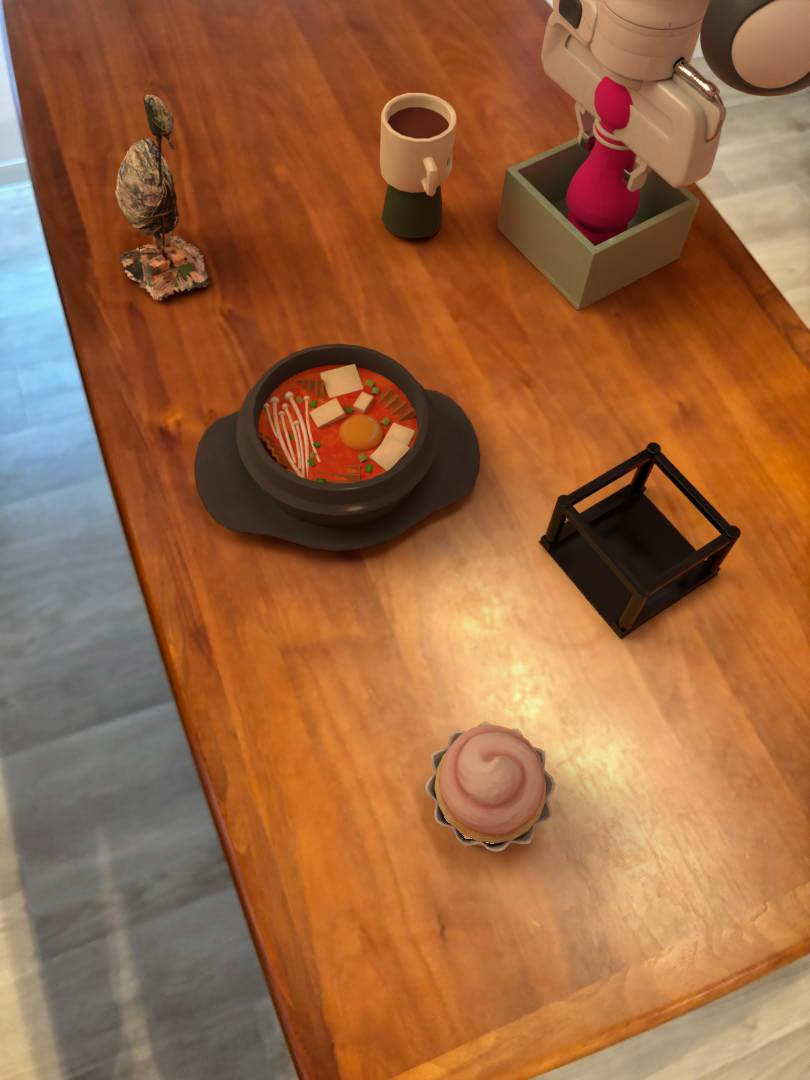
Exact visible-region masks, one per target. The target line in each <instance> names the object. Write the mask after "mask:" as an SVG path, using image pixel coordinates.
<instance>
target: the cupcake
mask: <svg viewBox="0 0 810 1080" xmlns="http://www.w3.org/2000/svg"><path fill="white" fill-rule="evenodd" d="M546 757H547V755H546V751H545V750H543V749H541V748H539V747H536V746H533V745H532V743H531V741H529V740H528V739H527V738H526V737H525V736H524V735H523V733H522V731H521V730H520V728H508V727H505V726H501V725H494V724H491V722H488V721H486V720H485V721H482V722H481V723H479V725H477V726H476V727H472V728H470V729H468V730H461V729H454V730H452V732H451V733H450V735H449V740H448V742H447V746H446V747H443V748H441V749H438V750H435V751H434V752H432V753H431V754H430V763H431V767H432V771H433V773H432V775H431V776H430V777H429V778H428V780H427V781H426V783H425V785H424V790H425V791H426V794H427V795H428V796H429V797H430V798H431V799H432V800H433V802H434V803H435V806H434V813H433V816H434V821H435V822H436V823H438V825H440V826H443V827H446V828H449V829H450V830H451V831H452V832H453V833H454V835H455V838H456V840H457V841H458V842H459V843H460V844H461V845H463V846H468V847H470V846H480V847H483V848H486V849H487V850H488V851H490V852H501V851H504V850H505V849H506V848H507V847H508V846H509V845H510V844H511V843H513V844H520V845H526V844H531V842H532V840H533V838H534V835H535V831H536V827H537V826H539V825H541V824H544V823H547V822H549V821H550V820H551V819H553V810H552V807H551V804H550V802H549V801H550V800H549V798H550V797H551V796H552V794H553V793H554V792H555V788H556V782H555V779H554V777H553V776H552V775H551V774H550V773H549V772H548V771H547V770H546V769H545V768H546ZM444 816H445V818H446V819H447V821H448V822H449V823H448V822H447V821H446V819H445V818H444ZM462 834H463V835H466V836H468V837H470V838H472V839H465V838H464V836H463V835H462ZM486 842H489V843H486ZM490 843H494V844H490Z"/></svg>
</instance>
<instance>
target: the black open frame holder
mask: <svg viewBox="0 0 810 1080" xmlns="http://www.w3.org/2000/svg"><path fill="white" fill-rule="evenodd" d="M654 466H656V467H657V468H658V469H659V470H660V471H661V472H662V474H664V476H666V477H667V479H668V480H669V481H670V482H671V483H672V484H673V485H674V486H675V487H676V488H677V489H678V490H679V492H680V493H681V494H682V495H683V496H684V497H685V498H686V499H687V500H688V501H689V502H690V504H692V505H693V506H694V507H695V509H697V510H698V512H699V513H700V514H701V515H702V516H703V517H704V518H705V519H706V520H707V521H708V522H709V523H710V524H711V526H713V527H714V529H715V530H716V531H717V532H718V533H719V534H720V535H718V536H717V537H716V538H714V539H712V540H711V541H709V542H708V543H706V544H705V545H703V546H702V547H700V548H698V549H696V548H695V547H694V545H692V544H691V543H690V541H688V540H687V538H685V536H684V535H683V534H682V533H681V532H680V531H679V530H678V529H677V527H676V526H674V524H673V523H672V522H671V521H670V520H669V519H668V518H667V517H666V516H665V515H664V514H663V512H662V511H661V510H660V509H659V508H658V507H657V506H656V504H655V503H653V501H652V500H651V499H650V498H649V497H648V496H647V495H646V494H645V492H646V490H647V487H646V484H647V482H648V479H649V477H650V475H651V473H652V471H653V468H654ZM634 470H635V472H634V474H633V476H632V478H631V481H630V483H628V484H627V485H624V486H623V487H621V488H620V489H618V490H616V491H615V492H613V493H611V494H610V495H608V496H606V497H605V498H603V499H601V500H600V501H598V502H597V503H595V504H593V505H592V506H590V507H588V508H587V509H585V510H583V511H582V512H579V511H578V509H576V507H575V505H577V504H579V503H580V502H582V501H584V500H585V499H588V498H589V497H591V496H593V494H594V495H595V493H597V492H599V491H600V490H602V489H604V488H606V487H607V486H609V485H611V484H613V483H614V482H615V481H617V480H619V479H621V478H622V477H624V476H626V475H627V474H630V473H631V472H632V471H634ZM741 536H742V532H741V529H740V528H739V526H737V525H734V524H731V523H730V522H729V521H727V519H726V518H725V517H724V516H723V515H722V514H721V513H720V512H719V511H718V510H717V509H716V508H715V506H713V505H712V503H711V502H710V501H709V500H708V499H706V498H705V496H704V495H703V494H702V493H701V492H700V491H699V490H698V489H697V487H695V486H694V485H693V484H692V482H691V481H689V479H687V477H686V476H685V475H684V474H683V473H682V472H681V471H680V470H679V469H678V468H677V466H675V465H674V464H673V462H672V461H670V459H669V458H668V457H667V456H666V455H665V454H664V453H663V452H662V447H661V445H660V444H659V443H657V442H655V441H654V442H653V441H652V442H649V443H647V445H646V447H645V449H643V450H641V451H639V452H638V453H636V454H634V455H632V456H631V457H630V458H628V459H626V460H624V461H622V462H620V463H619V464H617V465H616V466H614V467H612V468H611V469H609V470H607V471H605V472H604V473H603V474H600V475H599V476H597V477H595V478H594V479H592V480H591V481H589V482H587V483H585V484H583V485H582V486H580V487H578V488H577V489H575V490H573V491H572V492H570V493H569V494H568V493H567V494H560V495H558V497H557V499H556V502H555V505H554V508H553V510H552V514H551V517H550V520H549V522H548V525H547V528H546V531H545V534H543V535H541V537H540V540H538V543H539V544H540V546H541V547H542V548H543V549H544V550H545V552H546V553H547V554H548V555H549V556H550V558H551V559H552V561H554V562H555V563H556V564H557V566H558V568H560V569H561V571H562V572H563V573H564V574H565V575H566V577H567V578H568V579H569V580H570V581H571V582H572V584H573V585H574V586H575V587H576V588H577V590H578V591H579V592H580V593H581V594H582V596H583V597H584V598H585V599H586V600H587V602H589V604H590V605H591V606H592V607H593V609H594V610H595V611H596V612H597V614H598V615H599V616H600V617H601V618H602V619H603V620H604V621H605V623H606V625H608V627H609V628H610V629H611V630H612V631H613V632H614V634H615V635H616V636H617V637H618V638H619V639H620V640H623V639H624V638H625V637H626V636H629V635H630V634H631V633H633V632H634V631H636V630H637V629H639V628H640V627H642V626H643V625H645V624H646V623H648V622H650V621H651V620H653V619H654V618H655V617H657V616H659V615H660V614H662V613H663V612H665V611H666V610H668V609H669V608H670V607H672V606H674V605H675V604H676V603H678V602H680V601H681V600H683V599H684V598H686V597H687V596H689V595H690V594H692V593H694V591H696V590H697V589H699V588H701V587H702V586H704V585H705V584H707V583H708V582H710V581H712V580H713V579H715V578H716V577H717V576H718V575H719V574H718V573H719V572H720V571H721V565H722V563H723V562H724V560H725V559H726V558H727V556H728V555H729V553H730V552H731V550H732V549H733V547H734V546H735V545H736V543H737V541H738V540H739V539H740V537H741Z"/></svg>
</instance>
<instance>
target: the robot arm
mask: <svg viewBox="0 0 810 1080" xmlns="http://www.w3.org/2000/svg"><path fill="white" fill-rule="evenodd" d="M552 8H553V11H552V12H551V13H550V15H549V17H548V20H547V23H546V27H545V31H544V36H543V42H542V45H541V54H540V59H541V66H542V68H543V71H544V74H545V75H546V76H547V77H548V78H549V79H551V80H552V81H553V82H554V83H555V84H556V85H557V86H558V87H560V88H561V89H562V90H563V91H564V92H565V93H566V94H567V95H569V96H570V98H572V99H573V100H574V101H575V105H574V111H575V116H576V121H577V125H578V129H579V130H578V134H577V137H578V139H577V143H578V144H579V145H580V146H582V147H583V148H584V149H585V150H586V151H591V149H593V148H594V145H595V142H596V137H595V136H594V133H593V125H594V122H595V118H596V119H598V120H599V122H601V119H600V117H599V116H598V114H597V112H596V109H595V106H594V97H595V91H596V88H597V86H598V84H599V83H600V82H601V81H602V78H603V77H607V76H608V77H609V78H610V79H611V80H613V81H614V82H616V83H618V84H621V85H623V86H625V87H626V89H627V90H628V92H629V94H630V96H631V98H632V101H633V105H630V118H629V122H628V124H627V126H626V127H625V128H623V129H619V130H614V132H613V134H614V135H616V136H617V137H618V139H619V140H620V141H622V142H623V143H624V144H625V145H626V146H627V147H628V148H629V149H631V150H632V151H633V152H634V153H635V154H636V155H637V158H636V164H634V165H633V166H632V167H628V168H625V169H624V171H623V174H622V175H623V178H622V179H621V183H622V184H623V185H624V186H625V187H626V188H627V189H629V190H630V191H631V192H633V191H635V190H638V189H640V188H641V187H642V186H643V185H644V183H645V180H646V177H647V174H648V172H650V171H651V170H654V171H655V172H656V173H658V174H659V175H660V176H661V177H662V178H663V179H664V180H665V181H666V182H668V183H669V184H670V185H671V186H672V187H674V188H676V189H678V188H682V187H685V188H686V187H688V186H691V185H693V184H695V183H698V182H699V181H701V180H703V179H704V178H706V177H707V176H708V175H709V174H710V173H711V171H712V168H713V167H714V163H715V160H716V156H717V153H718V148H719V144H720V139H721V134H722V131H723V130H722V129H723V126H724V123H725V120H726V117H727V109H726V106H725V104H724V101H723V99H722V97H721V95H720V92H721V91H720V89H719V86H717V84H715V83H714V82H713V81H711V80H710V79H707V78H706V77H704V76H703V74H701V72H700V71H699V70H698V69H697V68H696V67H694V66H693V65H692V64H690V63H691V62H692V59H693V56H694V53H695V50H696V47H697V43H698V40H699V42H700V50H701V53H702V57H703V59H704V60H705V63H706V64H707V66H708V68H709V69H710V71H711V72H712V73H713V74H714V76H716V78H717V79H719V81H721V82H722V83H724V84H725V85H727V86H728V87H730V88H732V89H733V90H736V91H738V92H740V93H744V94H746V95H751V96H757V97H766V98H767V97H769V98H770V97H781V96H786V95H791V94H794V93H797V92H801V91H803V90H805V89H807V88H809V87H810V0H552Z"/></svg>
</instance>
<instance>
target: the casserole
mask: <svg viewBox="0 0 810 1080" xmlns="http://www.w3.org/2000/svg"><path fill="white" fill-rule="evenodd" d="M480 465H481V450H480V444H479V439H478V436H477V434H476V431H475V429H474V426H473V424H472V422H471V420H470V418H469V416H468V415H467V414H466V412H465V411H464V410H463V408H462V407H461V406H460V405H459V404H458V403H457V402H456V401H455V400H454V399H452V397H450V396H448V395H446V394H445V393H442V392H441V391H438V390H433V389H427V388H424V386H423V385H422V384H421V383H420V382H419V381H418V380H417V379H416V378H415V377H414V375H413V374H412V373H411V372H410V371H409V370H408V369H407V368H406V367H405V366H404V365H402V364H401V363H399V362H398V361H396V360H395V359H394V358H392V357H391V356H389V355H386V354H384V353H383V352H381V351H380V352H379V351H377V350H375V349H372V348H369V347H364V346H361V345H358V344H349V343H348V344H347V343H327V344H326V343H325V344H320V345H314V346H309V347H305V348H303V349H300V350H298V351H294V352H292V353H290V354H289V355H287V356H285V357H284V358H281V359H280V360H278V361H276V362H275V363H274V364H273V365H272V366H271V367H269V368H268V369H267V370H266V371H265V372H264V373H263V375H262V376H261V377H260V378H259V379H258V380H257V381H256V382H255V384H254V385H253V386H252V388H250V390H249V391H248V393H247V394H246V396H245V398H244V400H243V402H242V404H241V405H240V408H239V410H237V411H235V412H232V413H230V414H228V415H225V416H223V417H220V418H218V419H215V421H214V422H213V423H212V424H210V425H209V426H208V427H207V428H206V429H205V431H204V432H203V434H202V436H201V438H200V440H199V443H198V445H197V448H196V453H195V457H194V479H195V484H196V488H197V492H198V496H199V498H200V500H201V502H202V504H203V506H204V509H205V510H206V512H207V513H208V514H209V515H210V516H211V518H212V519H213V520H214V521H215V522H216V523H217V524H219V526H220V525H221V526H222V527H224V528H226V529H227V530H229V531H231V532H238V533H246V534H255V535H262V536H269V537H274V538H277V539H281V540H283V541H287V542H291V543H293V544H298V545H301V546H303V547H307V548H310V549H316V550H323V551H324V550H325V551H334V552H337V551H338V552H340V551H351V550H353V551H354V550H355V551H356V550H360V549H364V548H369V547H373V546H377V545H381V544H382V543H385V542H387V541H389V540H391V539H394V538H397V537H398V536H399V535H401V534H403V533H404V532H406V531H407V530H409V529H410V528H411V527H413V526H414V525H415V524H417V523H418V522H420V521H421V520H422V519H424V518H425V517H426V516H428V515H430V514H431V513H434V512H436V511H438V510H440V509H442V508H445V507H447V506H450V505H452V504H454V503H455V502H457V501H459V500H461V499H463V498H465V497H466V496H467V495H468V494H469V493H470V492H471V491H472V490H473V488H474V487H475V486H476V482H477V480H478V477H479V473H480Z"/></svg>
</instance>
